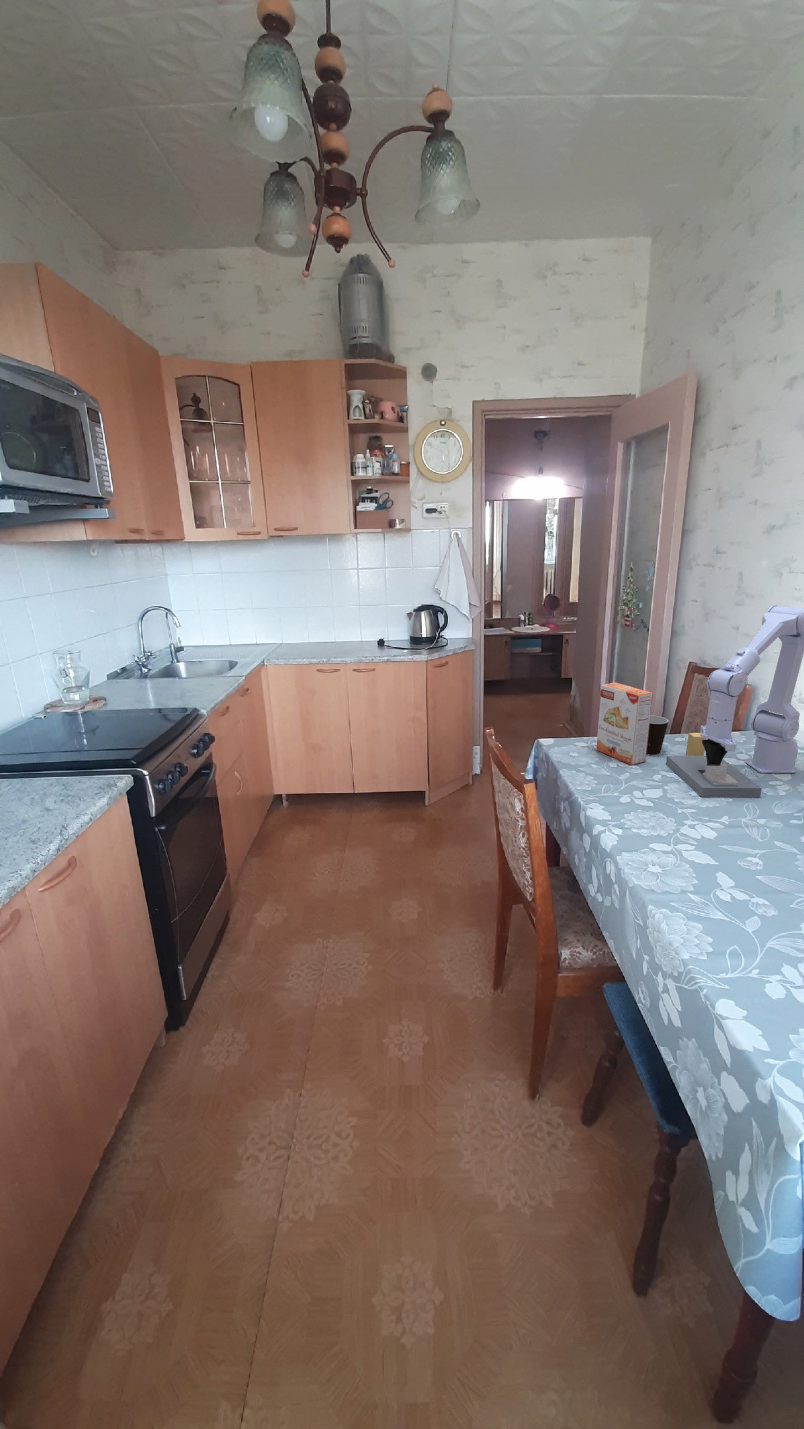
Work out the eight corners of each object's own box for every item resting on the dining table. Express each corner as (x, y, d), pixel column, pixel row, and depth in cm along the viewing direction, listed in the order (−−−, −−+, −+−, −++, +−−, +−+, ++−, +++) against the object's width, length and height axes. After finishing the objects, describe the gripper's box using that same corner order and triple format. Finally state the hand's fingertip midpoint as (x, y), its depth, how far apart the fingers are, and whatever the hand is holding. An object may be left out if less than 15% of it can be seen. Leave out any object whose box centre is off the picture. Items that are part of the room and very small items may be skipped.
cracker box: (594, 750, 172) (600, 683, 166) (609, 747, 174) (615, 681, 168) (630, 766, 159) (637, 694, 153) (646, 762, 162) (654, 691, 156)
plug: (697, 755, 166) (701, 732, 164) (703, 759, 163) (706, 736, 161) (685, 755, 166) (688, 732, 164) (690, 759, 163) (693, 736, 161)
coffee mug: (669, 755, 166) (673, 723, 163) (640, 756, 166) (643, 724, 163) (653, 742, 177) (657, 712, 174) (625, 743, 178) (628, 712, 175)
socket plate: (716, 763, 160) (718, 755, 159) (760, 797, 139) (761, 787, 138) (666, 763, 160) (667, 755, 160) (701, 797, 139) (702, 787, 139)
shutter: (726, 775, 145) (727, 764, 144) (738, 785, 139) (740, 773, 138) (702, 776, 145) (703, 764, 144) (713, 785, 139) (714, 773, 139)
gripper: (691, 709, 149) (684, 757, 153) (717, 726, 135) (710, 779, 139) (718, 709, 148) (711, 757, 152) (748, 726, 135) (739, 779, 138)
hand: (712, 768), depth 146 cm, fingers closed
